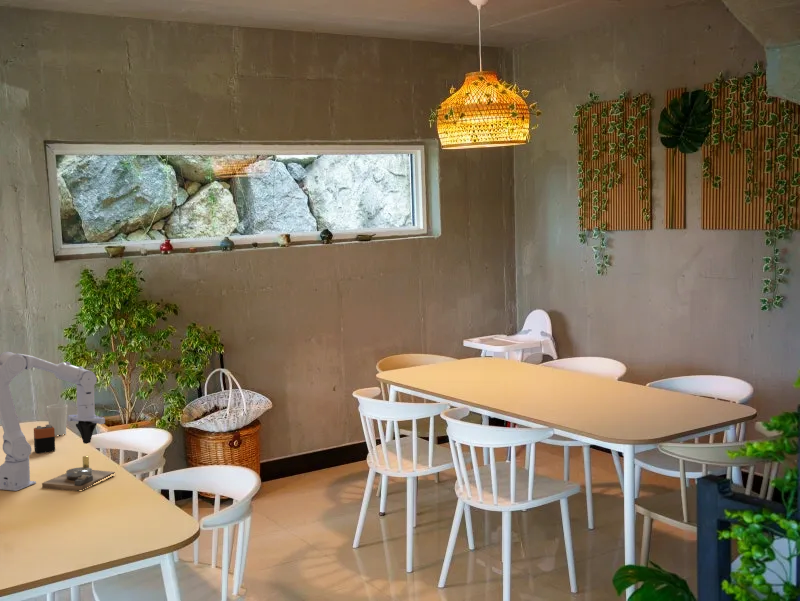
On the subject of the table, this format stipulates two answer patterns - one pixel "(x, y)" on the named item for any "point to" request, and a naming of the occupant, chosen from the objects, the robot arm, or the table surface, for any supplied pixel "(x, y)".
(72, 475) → the cam
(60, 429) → the cup
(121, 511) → the table surface
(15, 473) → the robot arm
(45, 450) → the battery
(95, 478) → the board
